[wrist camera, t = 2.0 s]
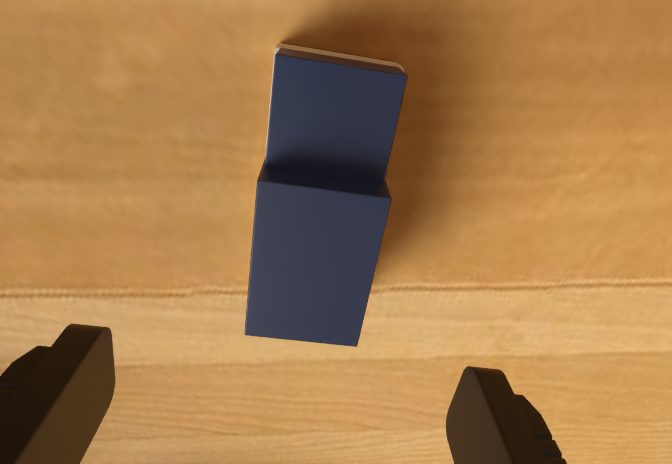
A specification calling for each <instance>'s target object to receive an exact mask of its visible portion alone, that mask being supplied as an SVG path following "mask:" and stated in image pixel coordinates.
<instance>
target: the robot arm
mask: <svg viewBox="0 0 672 464" xmlns="http://www.w3.org/2000/svg"><path fill="white" fill-rule="evenodd" d="M114 388H115V369H114V356H113V344H112V333H111V330H110V329H109V328H108V327H100V326H90V325H80V324H70V325H68V326H67V327H66V328H65V329H64V331H63V332H62V333H61V335H60V336H59V337H58V338H57V340H56V341H55V342H54V344H53V345H52V346H51V347H46V346H37V347H35V348H34V349H32V350H31V351H29V352H27V353H26V354H24V355H23V356H21V357H20V358H18V359H17V360H15V361H14V362H12V363H11V364H10V366H9V367H8V368H7V369H6V370H5V372H4V373H3V374H2V375H1V376H0V464H80V462H81V460H82V458H83V456H84V454H85V452H86V451H87V449H88V447H89V445H90V443H91V441H92V439H93V437H94V435H95V433H96V431H97V429H98V427H99V425H100V424H101V422H102V420H103V418H104V416H105V414H106V412H107V410H108V408H109V406H110V403H111V400H112V397H113V393H114ZM446 433H447V439H448V443H449V446H450V450H451V453H452V457H453V460H454V464H567V463H566V461H565V459H562V456H561V455H562V453H561V452H560V450H559V448H558V446H557V444H556V442H555V440H552V435H551V433H550V431H549V429H548V427H547V425H546V423H545V421H544V419H543V417H542V416H541V414H540V413H539V412H538V411H537V410H536V409H535V408H534V407H533V406H532V404H531V403H530V402H529V401H528V400H527V399H526V398H525V397H524V396H523V395H517V394H514V393H513V391H512V389H511V387H510V385H509V382H508V380H507V378H506V376H505V375H504V373H503V372H502V371H501V370H499V369H489V368H480V367H470V366H468V367H466V368H465V370H464V371H463V374H462V376H461V379H460V381H459V384H458V386H457V389H456V392H455V394H454V397H453V399H452V402H451V404H450V407H449V410H448V413H447V418H446Z"/></svg>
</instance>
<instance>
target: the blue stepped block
mask: <svg viewBox="0 0 672 464" xmlns="http://www.w3.org/2000/svg"><path fill="white" fill-rule="evenodd" d="M403 71H404V68H403V67H402V66H401V65H400V64H399V63H397V62H391V61H385V60H379V59H373V58H367V57H361V56H355V55H349V54H343V53H337V52H331V51H325V50H319V49H313V48H307V47H301V46H295V45H289V44H283V43H278V45H277V46H276V47H275V50H274V62H273V73H272V84H271V95H270V106H269V118H268V129H267V140H266V151H265V160H264V163H263V166H262V169H261V172H260V174H259V177H258V180H257V190H256V202H255V214H254V226H253V238H252V250H251V262H250V274H249V286H248V298H247V310H246V322H245V335H249V336H259V337H268V338H278V339H287V340H297V341H307V342H316V343H326V344H335V345H345V346H355V347H356V346H357V345H358V341H359V337H360V332H361V328H362V324H363V319H364V315H365V311H366V307H367V302H368V298H369V294H370V290H371V285H372V281H373V277H374V272H375V268H376V264H377V260H378V255H379V251H380V247H381V243H382V238H383V234H384V230H385V225H386V221H387V217H388V213H389V208H390V204H391V200H392V199H391V196H390V193H389V190H388V187H387V184H386V181H385V176H386V172H387V167H388V163H389V158H390V153H391V149H392V144H393V140H394V135H395V131H396V126H397V122H398V117H399V113H400V108H401V104H402V99H403V95H404V90H405V86H406V81H407V75H406V74H405V73H404V72H403Z"/></svg>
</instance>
